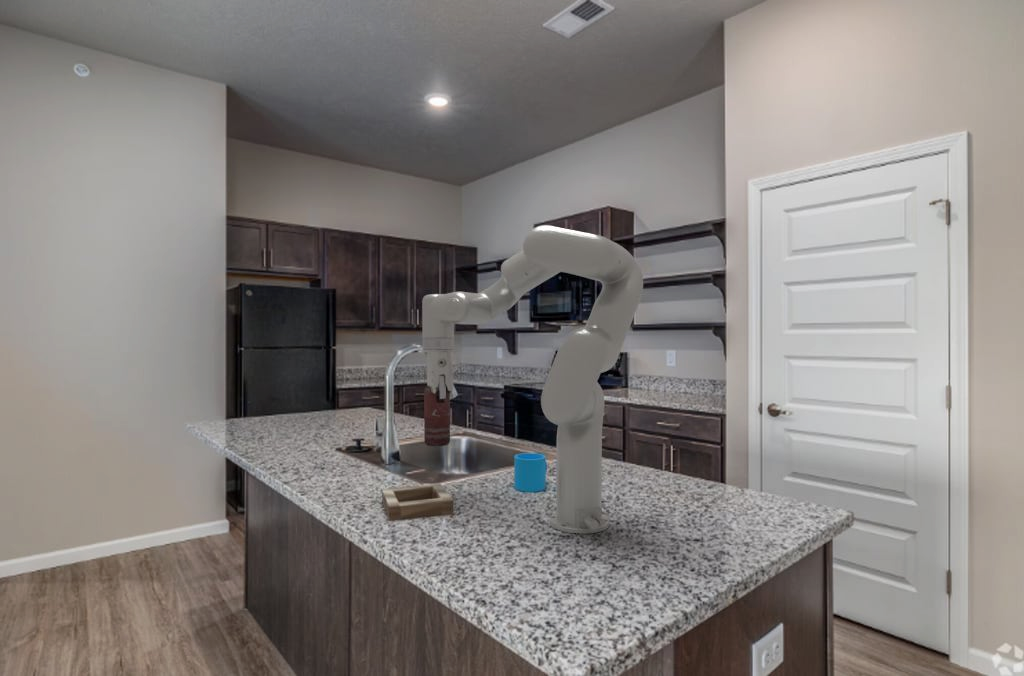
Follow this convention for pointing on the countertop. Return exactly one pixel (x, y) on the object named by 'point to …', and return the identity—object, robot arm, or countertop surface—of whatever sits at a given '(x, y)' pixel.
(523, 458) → the mug
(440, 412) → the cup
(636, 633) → the countertop surface
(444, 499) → the socket block
